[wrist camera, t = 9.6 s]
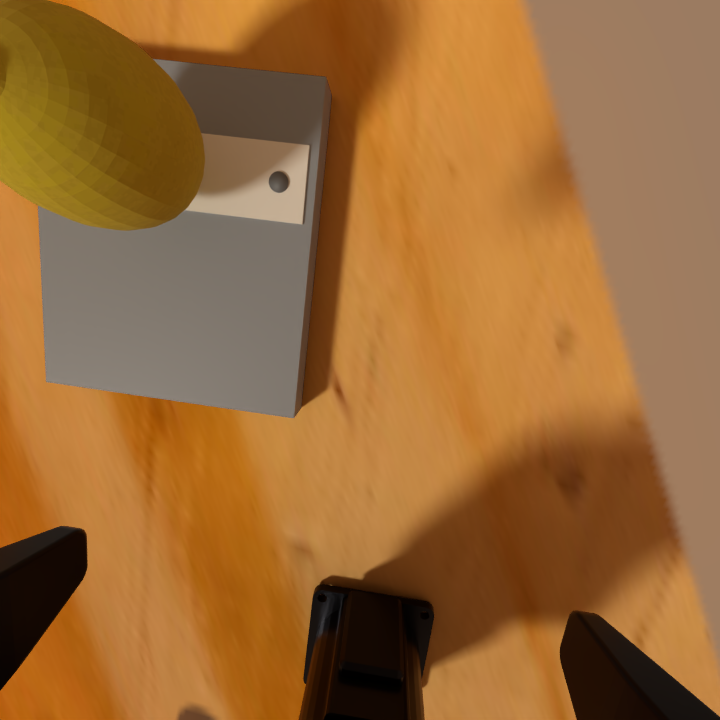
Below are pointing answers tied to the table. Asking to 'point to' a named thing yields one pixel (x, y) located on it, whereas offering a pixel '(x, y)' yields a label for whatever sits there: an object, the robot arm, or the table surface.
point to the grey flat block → (203, 259)
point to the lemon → (92, 121)
